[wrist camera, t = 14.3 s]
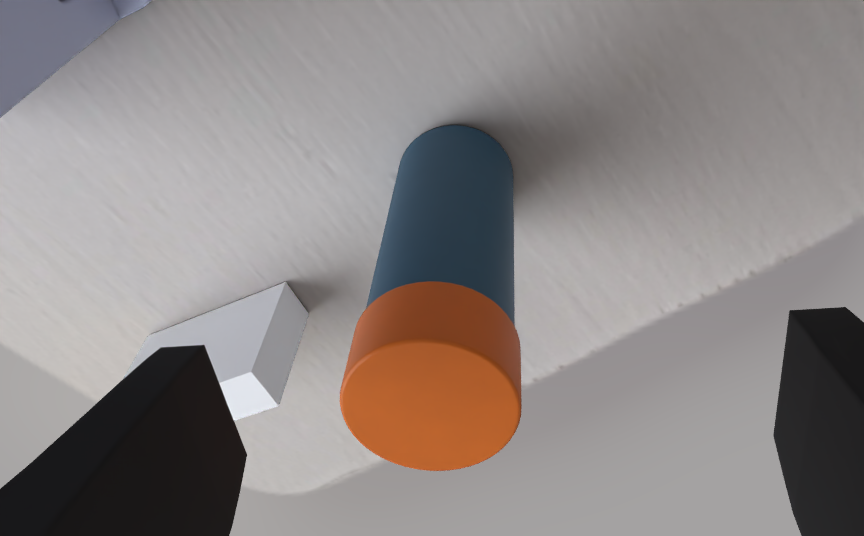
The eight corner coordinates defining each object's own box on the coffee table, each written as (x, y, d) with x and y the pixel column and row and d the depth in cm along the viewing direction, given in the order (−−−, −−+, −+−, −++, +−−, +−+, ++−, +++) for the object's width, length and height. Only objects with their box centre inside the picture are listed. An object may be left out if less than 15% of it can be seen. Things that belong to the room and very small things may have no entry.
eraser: (310, 314, 23) (279, 407, 20) (173, 364, 24) (125, 458, 21) (286, 280, 22) (250, 371, 19) (147, 334, 24) (94, 426, 21)
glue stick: (511, 232, 21) (513, 478, 14) (394, 224, 21) (342, 465, 14) (522, 124, 19) (530, 347, 12) (394, 116, 19) (336, 333, 13)
